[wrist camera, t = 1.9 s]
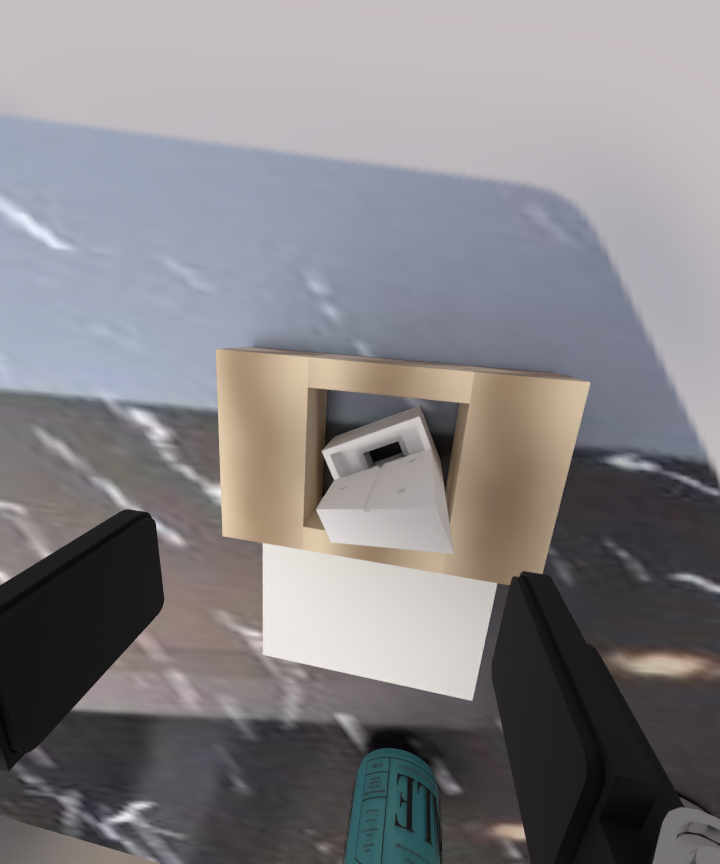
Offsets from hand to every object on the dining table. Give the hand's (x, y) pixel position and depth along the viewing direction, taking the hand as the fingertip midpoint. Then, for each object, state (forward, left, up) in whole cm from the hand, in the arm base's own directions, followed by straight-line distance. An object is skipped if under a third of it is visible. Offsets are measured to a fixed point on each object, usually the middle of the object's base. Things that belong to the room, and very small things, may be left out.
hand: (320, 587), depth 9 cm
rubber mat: (0, +13, -14) cm, 19 cm away
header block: (0, +1, -14) cm, 14 cm away
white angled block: (0, +1, -14) cm, 14 cm away
